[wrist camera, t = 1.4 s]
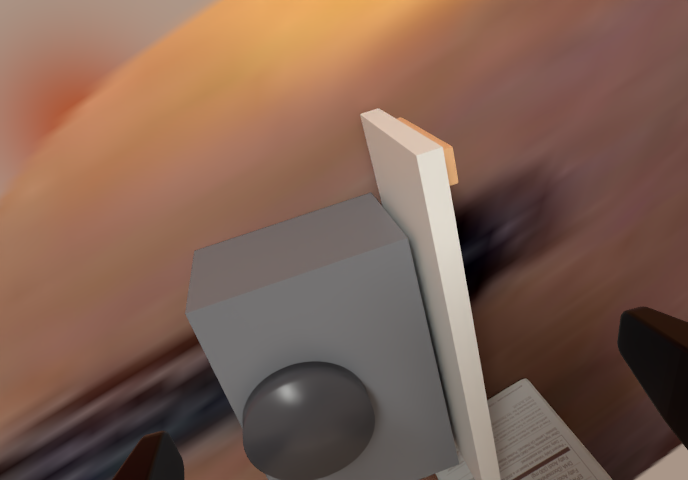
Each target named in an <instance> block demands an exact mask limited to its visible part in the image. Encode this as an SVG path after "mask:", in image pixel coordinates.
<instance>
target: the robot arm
mask: <svg viewBox="0 0 688 480" xmlns="http://www.w3.org/2000/svg"><path fill="white" fill-rule="evenodd" d="M617 343H618V348H619V351H620V353H621V355H622V357H623V358H624V360H625V361H626V363H627V364H628V366H629V367H630V369H631V371H632V372H633V374H634V375H635V377H636V378H637V380H638V381H639V383H640V384H641V386H642V387H643V389H644V390H645V392H646V393H647V395H648V397H649V398H650V400H651V401H652V403H653V404H654V406H655V407H656V409H657V410H658V412H659V413H660V415H661V416H662V417H663V419H664V420H665V422H666V423H667V424H668V426H669V427H670V428H671V430H672V431H673V432H674V433H675V435H676V436H677V437H678V438H679V440H680V441H681V442H682V443H683V445H684V446H685V447H686V448H687V450H688V322H685V321H683V320H680V319H677V318H675V317H672V316H669V315H667V314H664V313H661V312H659V311H656V310H653V309H651V308H648V307H638V308H634V309H630V310H626V311H624V312H623V313H622V315H621V318H620V326H619V333H618V341H617ZM112 480H184V464H183V460H182V457H181V455H180V453H179V452H178V450H177V448H176V446H175V444H174V442H173V440H172V438H171V437H170V435H169V434H168V433H167V432H166V431H160V432H156V433H152V434H148V435H145V436H144V437H143V438H142V439H141V440H140V441H139V442H138V444H137V445H136V447H135V448H134V449H133V451H132V452H131V454H130V455H129V456H128V458H127V459H126V461H125V462H124V463H123V465H122V466H121V468H120V469H119V471H118V472H117V473H116V475H115V476H114V478H113V479H112Z"/></svg>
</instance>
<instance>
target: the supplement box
mask: <svg viewBox="0 0 688 480" xmlns="http://www.w3.org/2000/svg"><path fill="white" fill-rule="evenodd" d="M487 403H488V409H489V415H490V420H491V426H492V432H493V438H494V443H495V449H496V455H497V461H498V466H499V472H500V478H501V480H612V478H611V477H610V476H609V475H608V474H607V472H606V471H605V470H604V469H603V468H602V467H601V465H600V464H599V463H598V462H597V461H596V459H595V458H594V457H593V456H592V455H591V453H590V452H589V451H588V450H587V449H586V448H585V446H584V445H583V444H582V443H581V442H580V440H579V439H578V438H577V437H576V436H575V435H574V433H573V432H572V431H571V430H570V429H569V427H568V426H567V425H566V424H565V423H564V421H563V420H562V419H561V418H560V417H559V416H558V414H557V413H556V412H555V411H554V410H553V409H552V407H551V406H550V405H549V404H548V403H547V401H546V400H545V399H544V398H543V397H542V396H541V394H540V393H539V392H538V391H537V390H536V389H535V387H534V386H533V385H532V384H531V382H530V381H529V380H528V379H526V378H525V379H522V380H520V381H518V382H516V383H515V384H513V385H511V386H509V387H508V388H506V389H504V390H503V391H501V392H500V393H498V394H497V395H495V396H493V397H492V398H490V399H489V400H487ZM454 443H455V441H454ZM455 447H456V452H457V456H458V461H459V465H456V466H454V467H451V468H448V469H446V470H443V471H440V472H438V473H435V474H436V476H437V478H438V480H475V479H474V477H473V475H472V473H471V472H470V470H469V468H468V466H467V464H466V462H465V460H464V458H463V456H462V455H461V453H460V451H459V449H458V447H457V445H456V443H455Z"/></svg>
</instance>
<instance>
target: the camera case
mask: <svg viewBox="0 0 688 480" xmlns="http://www.w3.org/2000/svg"><path fill="white" fill-rule="evenodd" d="M185 314H186V316H187V318H188V320H189V322H190V324H191V326H192V328H193V330H194V332H195V334H196V336H197V338H198V340H199V342H200V344H201V346H202V348H203V350H204V352H205V354H206V356H207V358H208V360H209V362H210V364H211V366H212V368H213V370H214V372H215V374H216V376H217V378H218V380H219V382H220V384H221V386H222V388H223V390H224V392H225V394H226V396H227V398H228V400H229V402H230V404H231V406H232V408H233V410H234V412H235V414H236V416H237V418H238V420H239V422H240V424H241V426H242V428H243V445H244V450H245V452H246V455H247V457H248V458H249V460H250V462H251V463H252V464H253V465H254V466H255V467H256V468H257V469H259V470H260V471H261V472H263V473H265V474H266V476H267V478H268V480H419V479H422V478H425V477H427V476H430V475H433V474H435V473H438V472H440V471H443V470H446V469H448V468H451V467H454V466H456V465H459V461H458V456H457V452H456V447H455V443H454V439H453V434H452V430H451V426H450V421H449V417H448V412H447V408H446V404H445V399H444V395H443V390H442V386H441V382H440V377H439V373H438V368H437V364H436V360H435V355H434V351H433V346H432V342H431V338H430V333H429V329H428V325H427V320H426V316H425V311H424V307H423V303H422V298H421V294H420V289H419V285H418V281H417V276H416V272H415V267H414V263H413V259H412V254H411V250H410V245H409V241H408V238H407V236H406V235H405V234H404V233H403V231H402V230H401V229H400V228H399V226H398V225H397V224H396V223H395V222H394V220H393V219H392V218H391V217H390V215H389V214H388V213H387V212H386V210H385V209H384V208H383V207H382V206H381V204H380V203H379V202H378V201H377V199H376V198H375V197H374V196H373V195H372V193H368V194H365V195H362V196H359V197H356V198H353V199H350V200H347V201H344V202H341V203H338V204H335V205H332V206H329V207H326V208H323V209H320V210H317V211H314V212H311V213H308V214H305V215H302V216H299V217H296V218H293V219H290V220H287V221H284V222H281V223H278V224H275V225H272V226H269V227H265V228H262V229H259V230H256V231H253V232H250V233H247V234H244V235H241V236H238V237H235V238H232V239H229V240H226V241H223V242H220V243H217V244H214V245H211V246H208V247H205V248H202V249H199V250H196V251H194V257H193V264H192V271H191V277H190V284H189V291H188V298H187V304H186V311H185Z"/></svg>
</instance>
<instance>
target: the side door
mask: <svg viewBox="0 0 688 480" xmlns="http://www.w3.org/2000/svg"><path fill="white" fill-rule="evenodd" d="M360 116H361V121H362V125H363V129H364V133H365V137H366V141H367V145H368V149H369V153H370V157H371V161H372V165H373V169H374V173H375V177H376V182H377V186H378V190H379V194H380V198H381V202H382V206H383V208H384V209H385V210H386V212H387V213H388V214H389V215H390V217H391V218H392V219H393V220H394V222H395V223H396V224H397V225H398V226H399V228H400V229H401V230H402V231H403V233H404V234H405V235H406V236H407V238H408V241H409V245H410V250H411V254H412V259H413V263H414V267H415V272H416V276H417V281H418V285H419V289H420V294H421V298H422V303H423V307H424V311H425V316H426V320H427V325H428V329H429V333H430V338H431V342H432V346H433V351H434V355H435V360H436V364H437V368H438V373H439V377H440V382H441V386H442V390H443V395H444V399H445V404H446V408H447V412H448V417H449V421H450V426H451V430H452V434H453V439H454V441H455V443H456V445H457V447H458V449H459V451H460V453H461V455H462V456H463V458H464V460H465V462H466V464H467V466H468V468H469V470H470V472H471V473H472V475H473V477H474V479H475V480H501V478H500V472H499V466H498V461H497V455H496V449H495V443H494V438H493V432H492V426H491V420H490V415H489V409H488V403H487V398H486V392H485V386H484V380H483V375H482V369H481V363H480V358H479V352H478V346H477V340H476V335H475V329H474V323H473V317H472V312H471V306H470V300H469V295H468V289H467V283H466V277H465V272H464V266H463V260H462V254H461V249H460V243H459V237H458V232H457V226H456V220H455V214H454V209H453V203H452V197H451V192H450V186H451V185H454V184H457V183H458V177H457V171H456V165H455V159H454V153H453V147H452V146H450V145H449V144H447V143H445V142H443V141H442V140H440V139H438V138H436V137H435V136H433V135H431V134H429V133H428V132H426V131H424V130H422V129H421V128H419V127H417V126H416V125H414V124H412V123H410V122H409V121H407V120H405V119H403V118H402V117H400V118H397V119H396V118H394V117H392V116H391V115H389V114H387V113H386V112H384V111H382V110H381V109H379V108H378V109H375V110H372V111H368V112H365V113H362V114H360Z"/></svg>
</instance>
